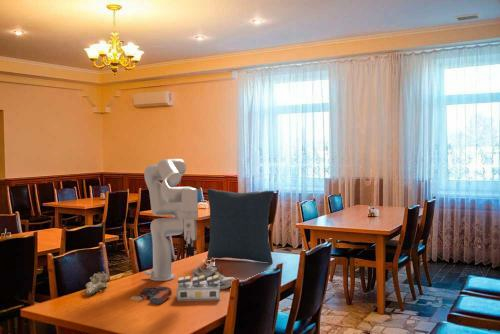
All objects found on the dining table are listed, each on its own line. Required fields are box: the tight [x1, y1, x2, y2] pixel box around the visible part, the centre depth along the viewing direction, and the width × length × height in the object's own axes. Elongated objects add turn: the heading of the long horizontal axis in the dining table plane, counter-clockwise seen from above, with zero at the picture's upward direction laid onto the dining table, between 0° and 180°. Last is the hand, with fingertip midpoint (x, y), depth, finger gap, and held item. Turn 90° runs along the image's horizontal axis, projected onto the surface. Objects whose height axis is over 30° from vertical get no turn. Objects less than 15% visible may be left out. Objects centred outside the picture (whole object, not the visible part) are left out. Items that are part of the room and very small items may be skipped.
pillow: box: [206, 188, 275, 264], centre depth 292 cm, size 44×16×44 cm, turn 70°
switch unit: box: [176, 280, 221, 302], centre depth 222 cm, size 19×12×7 cm, turn 93°
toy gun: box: [129, 286, 173, 305], centre depth 222 cm, size 18×5×15 cm
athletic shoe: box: [191, 263, 236, 290], centre depth 240 cm, size 10×23×12 cm, turn 78°
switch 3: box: [207, 275, 219, 284], centre depth 222 cm, size 6×5×2 cm
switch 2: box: [191, 275, 205, 284], centre depth 222 cm, size 6×5×2 cm
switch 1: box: [177, 275, 192, 285], centre depth 222 cm, size 6×5×2 cm
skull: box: [85, 271, 110, 297], centre depth 233 cm, size 9×18×10 cm
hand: (190, 255), depth 221 cm, fingers closed
